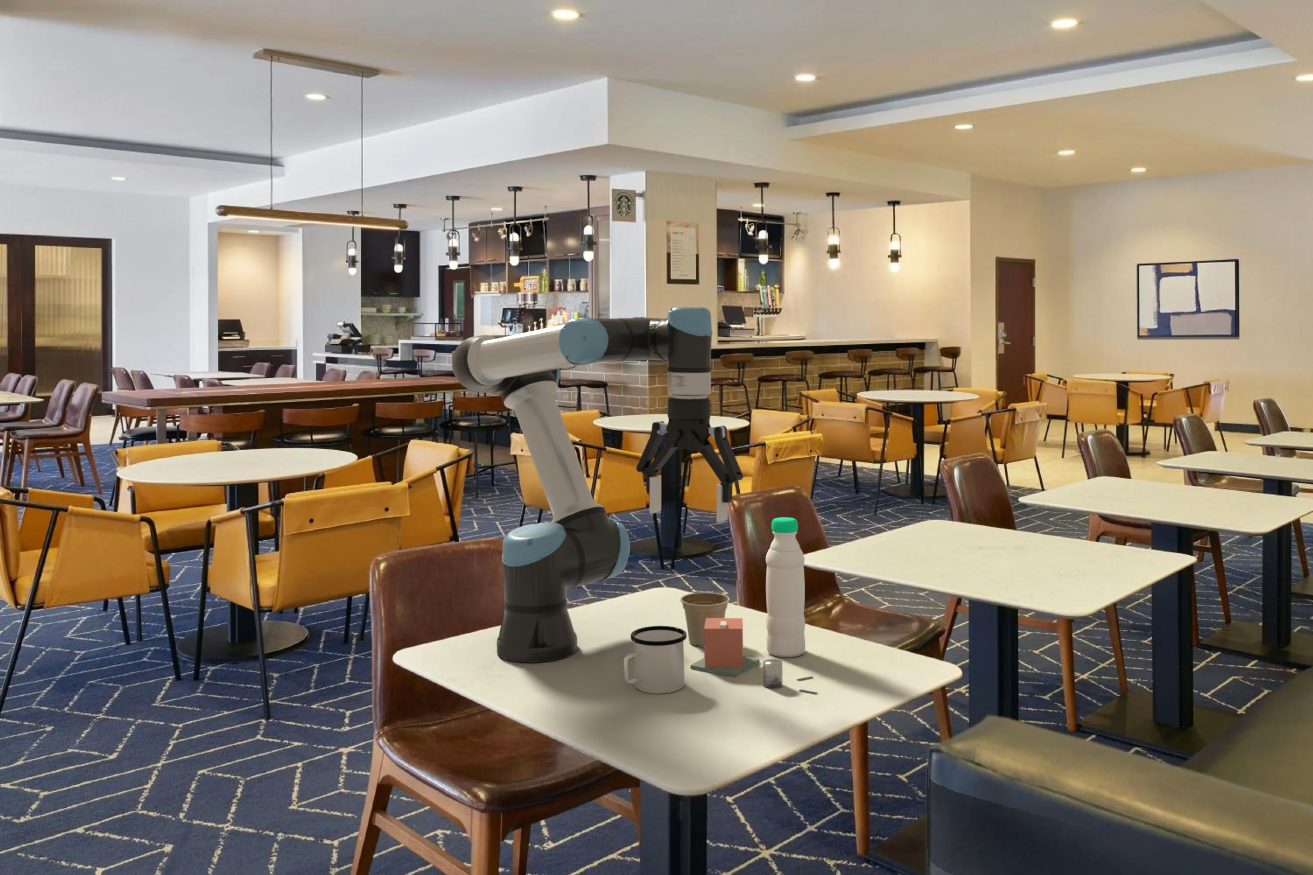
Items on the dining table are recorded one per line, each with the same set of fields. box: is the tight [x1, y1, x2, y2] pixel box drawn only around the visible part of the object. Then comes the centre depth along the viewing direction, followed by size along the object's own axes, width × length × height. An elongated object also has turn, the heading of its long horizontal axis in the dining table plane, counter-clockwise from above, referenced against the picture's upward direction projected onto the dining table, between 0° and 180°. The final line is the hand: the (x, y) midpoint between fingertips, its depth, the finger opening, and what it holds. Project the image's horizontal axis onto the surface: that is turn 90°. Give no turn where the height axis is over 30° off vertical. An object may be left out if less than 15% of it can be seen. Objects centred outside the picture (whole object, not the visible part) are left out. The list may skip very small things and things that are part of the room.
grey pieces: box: [762, 658, 818, 695], centre depth 172 cm, size 10×9×4 cm
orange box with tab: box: [704, 617, 744, 668], centre depth 183 cm, size 7×7×8 cm
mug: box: [623, 625, 688, 695], centre depth 172 cm, size 12×10×9 cm
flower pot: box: [680, 591, 730, 648], centre depth 196 cm, size 9×9×9 cm
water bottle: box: [765, 516, 806, 658], centre depth 188 cm, size 7×7×25 cm
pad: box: [690, 655, 761, 678], centre depth 183 cm, size 9×9×1 cm
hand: (688, 516), depth 181 cm, fingers open, 13 cm apart
